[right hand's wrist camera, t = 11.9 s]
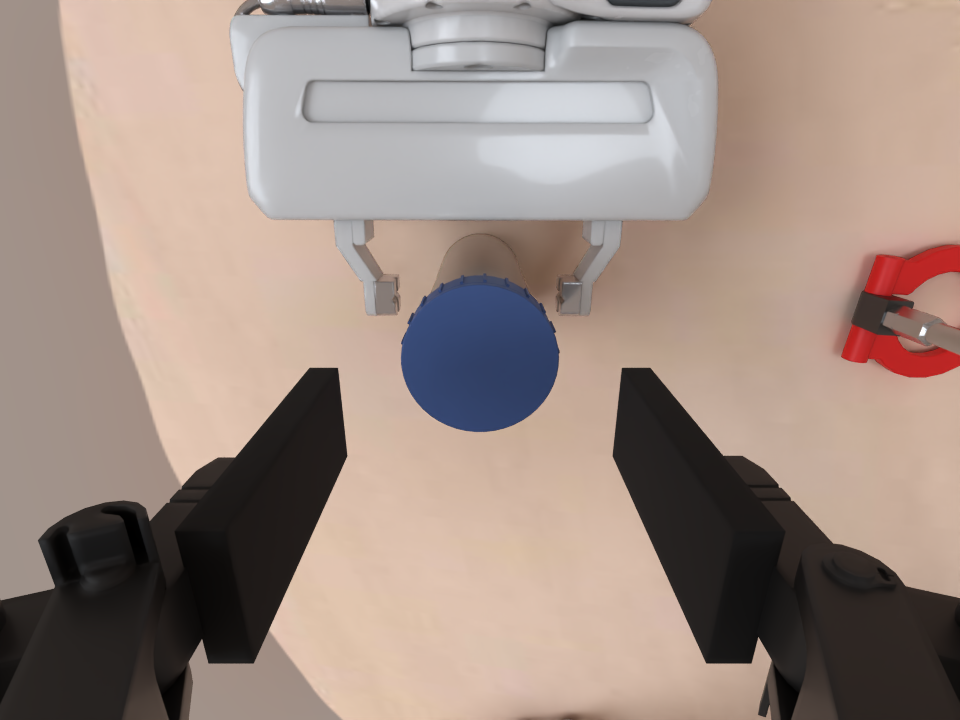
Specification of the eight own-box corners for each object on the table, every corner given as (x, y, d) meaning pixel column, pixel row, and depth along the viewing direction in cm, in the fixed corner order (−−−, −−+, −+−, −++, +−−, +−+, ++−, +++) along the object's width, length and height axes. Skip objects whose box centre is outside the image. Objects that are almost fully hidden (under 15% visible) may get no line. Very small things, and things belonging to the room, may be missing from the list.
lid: (562, 277, 18) (570, 287, 17) (546, 418, 20) (551, 438, 19) (406, 267, 18) (399, 277, 17) (404, 410, 20) (398, 430, 19)
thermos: (522, 236, 31) (555, 295, 17) (515, 313, 33) (541, 422, 19) (442, 231, 31) (412, 286, 17) (439, 308, 33) (410, 415, 19)
